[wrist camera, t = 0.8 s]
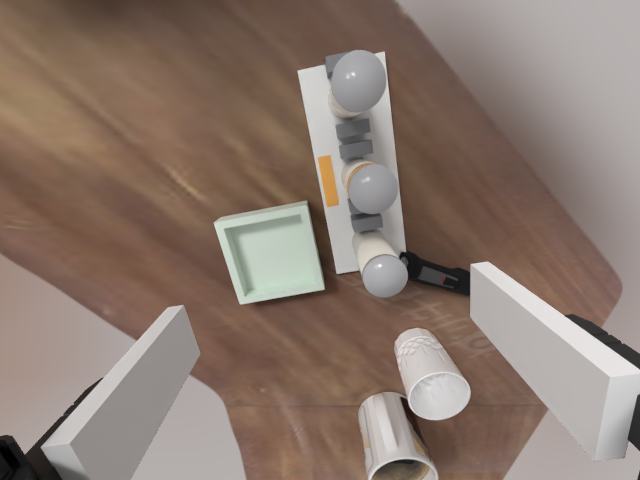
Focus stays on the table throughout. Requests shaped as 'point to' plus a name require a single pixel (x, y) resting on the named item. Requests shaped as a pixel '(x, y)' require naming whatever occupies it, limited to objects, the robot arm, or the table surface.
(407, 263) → the electric trimmer
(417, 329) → the white cup
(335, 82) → the cream grey cylinder
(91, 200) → the table surface
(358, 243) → the fuse
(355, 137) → the board
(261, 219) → the tray
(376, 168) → the marked fuse
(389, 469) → the mug
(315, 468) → the table surface
